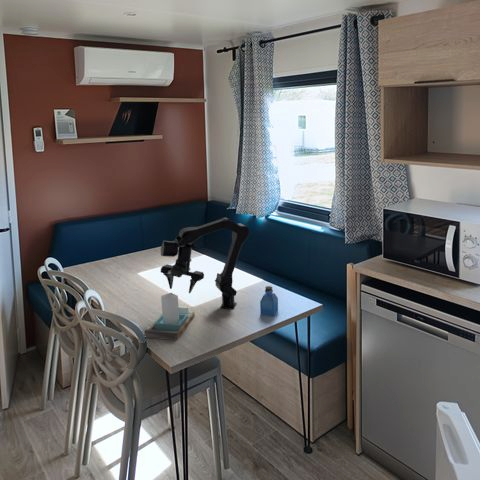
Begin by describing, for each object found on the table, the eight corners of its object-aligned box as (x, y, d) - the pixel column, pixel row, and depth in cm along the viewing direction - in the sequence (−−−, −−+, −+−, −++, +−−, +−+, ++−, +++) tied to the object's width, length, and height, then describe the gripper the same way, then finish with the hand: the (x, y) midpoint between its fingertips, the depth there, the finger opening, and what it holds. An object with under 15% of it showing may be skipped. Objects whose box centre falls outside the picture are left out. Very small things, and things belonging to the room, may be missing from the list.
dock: (165, 314, 229) (164, 308, 228) (194, 316, 226) (194, 310, 225) (144, 337, 207) (144, 331, 206) (177, 340, 204) (177, 333, 203)
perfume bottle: (260, 314, 226) (259, 289, 223) (264, 309, 232) (264, 284, 229) (273, 316, 224) (273, 290, 221) (278, 310, 229) (277, 285, 226)
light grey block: (163, 323, 217) (161, 295, 214) (173, 319, 220) (171, 292, 217) (169, 326, 213) (167, 298, 210) (179, 323, 217) (177, 295, 213)
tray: (168, 313, 229) (167, 305, 228) (192, 314, 227) (191, 307, 226) (154, 329, 213) (153, 321, 212) (179, 331, 211) (179, 322, 210)
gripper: (156, 256, 219) (153, 290, 222) (196, 264, 213) (192, 300, 216) (168, 251, 229) (164, 285, 232) (206, 260, 224) (202, 293, 227)
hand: (180, 290), depth 227 cm, fingers open, 9 cm apart
